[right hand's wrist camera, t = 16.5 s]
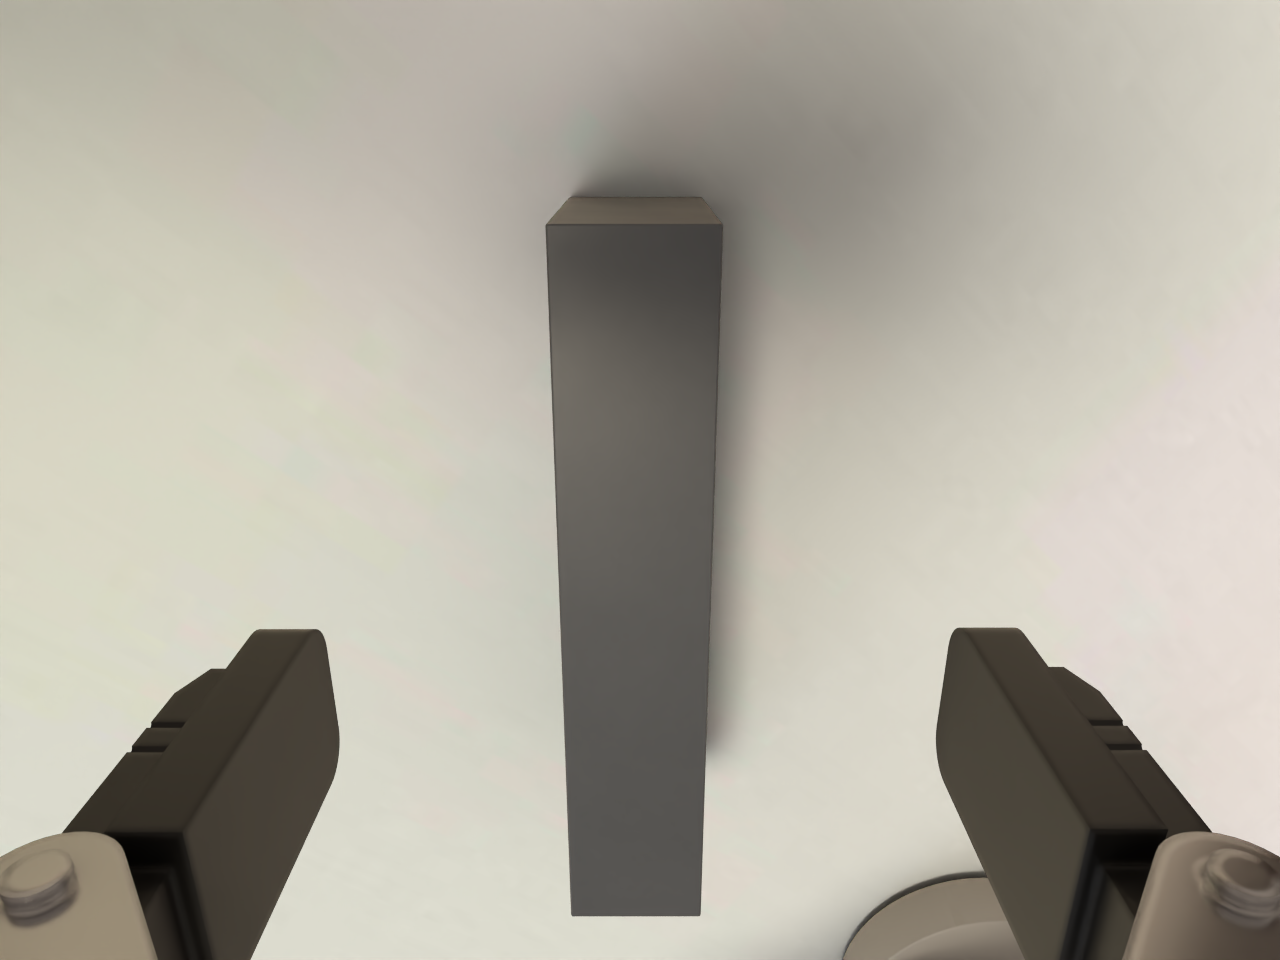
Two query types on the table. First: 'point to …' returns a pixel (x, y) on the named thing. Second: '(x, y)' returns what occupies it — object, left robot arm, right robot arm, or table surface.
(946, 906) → the bust sculpture
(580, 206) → the bar
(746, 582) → the table surface
